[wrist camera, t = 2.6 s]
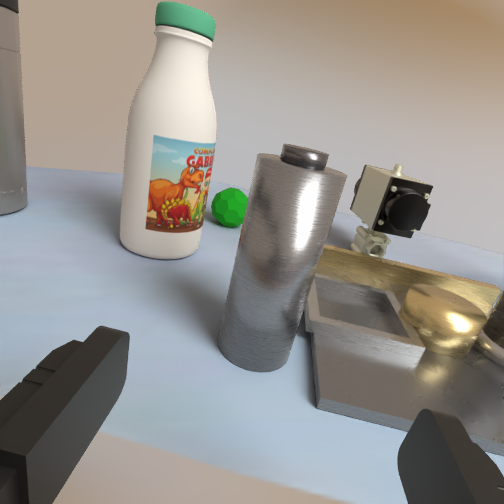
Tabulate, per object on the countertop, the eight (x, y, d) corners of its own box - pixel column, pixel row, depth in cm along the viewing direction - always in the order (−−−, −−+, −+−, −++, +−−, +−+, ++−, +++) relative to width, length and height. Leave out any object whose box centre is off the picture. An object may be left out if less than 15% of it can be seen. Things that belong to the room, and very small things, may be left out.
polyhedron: (208, 228, 41) (215, 190, 39) (208, 215, 45) (214, 181, 43) (248, 234, 42) (256, 198, 40) (244, 221, 46) (251, 188, 44)
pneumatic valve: (363, 272, 38) (403, 168, 34) (336, 236, 49) (364, 154, 44) (407, 280, 39) (452, 180, 34) (371, 243, 50) (402, 163, 45)
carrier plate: (305, 405, 18) (400, 155, 13) (298, 262, 37) (336, 135, 32) (680, 500, 18) (931, 280, 13) (482, 307, 36) (550, 186, 31)
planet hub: (210, 360, 20) (256, 141, 15) (225, 317, 24) (264, 136, 19) (288, 380, 20) (360, 165, 15) (288, 332, 24) (344, 155, 19)
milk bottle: (107, 253, 29) (122, -21, 22) (130, 225, 36) (147, 10, 29) (195, 267, 30) (237, 11, 23) (200, 237, 37) (234, 33, 30)
